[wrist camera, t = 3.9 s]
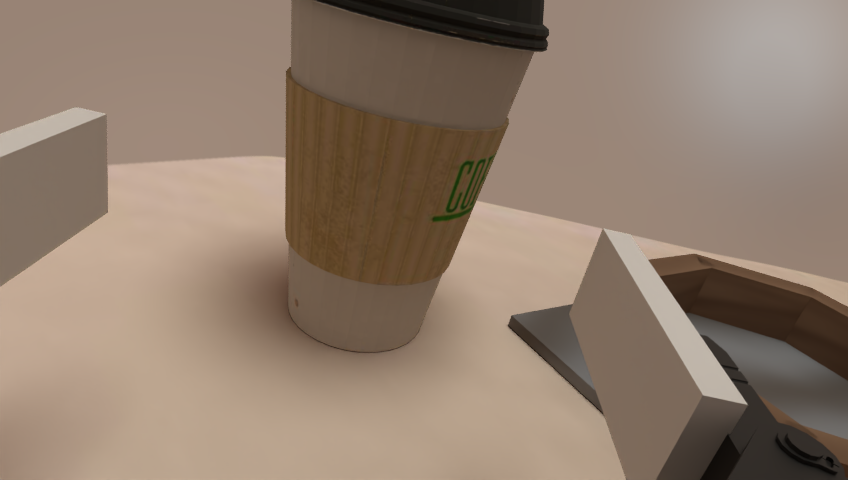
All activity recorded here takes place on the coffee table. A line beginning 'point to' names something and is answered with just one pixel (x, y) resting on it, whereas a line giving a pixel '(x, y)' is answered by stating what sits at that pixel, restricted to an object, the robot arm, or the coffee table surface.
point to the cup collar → (739, 341)
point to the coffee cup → (391, 151)
